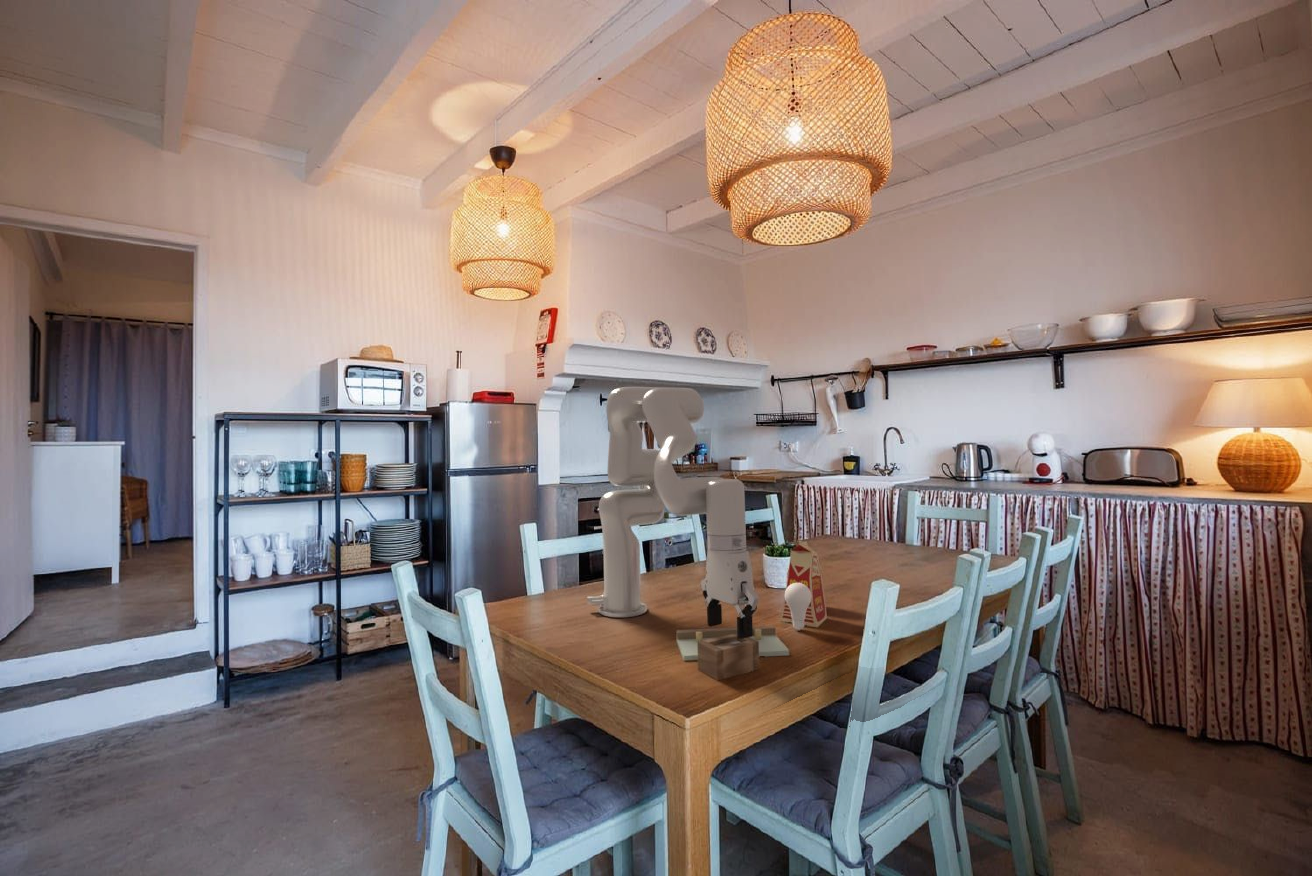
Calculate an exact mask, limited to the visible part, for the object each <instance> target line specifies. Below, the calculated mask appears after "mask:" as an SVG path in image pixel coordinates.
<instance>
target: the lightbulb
mask: <svg viewBox="0 0 1312 876" xmlns="http://www.w3.org/2000/svg"><path fill="white" fill-rule="evenodd" d="M811 598H812V595H811V592H810V590H809V588H808V587H807V586H806V585H804V584H802V583H793V584H791V585H789V586H788V587H787V589H786V588H785V591H784V599H785V600H786V602H787V604H788V606H789V608H790V611H791V617H792V619H793V623H792V627H793V629H795V630H796V631H801V630H803V629H804V628H805V625H804V620H805V615H806V610H807V608H808V606H809V604H810V602H811Z"/></svg>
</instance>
